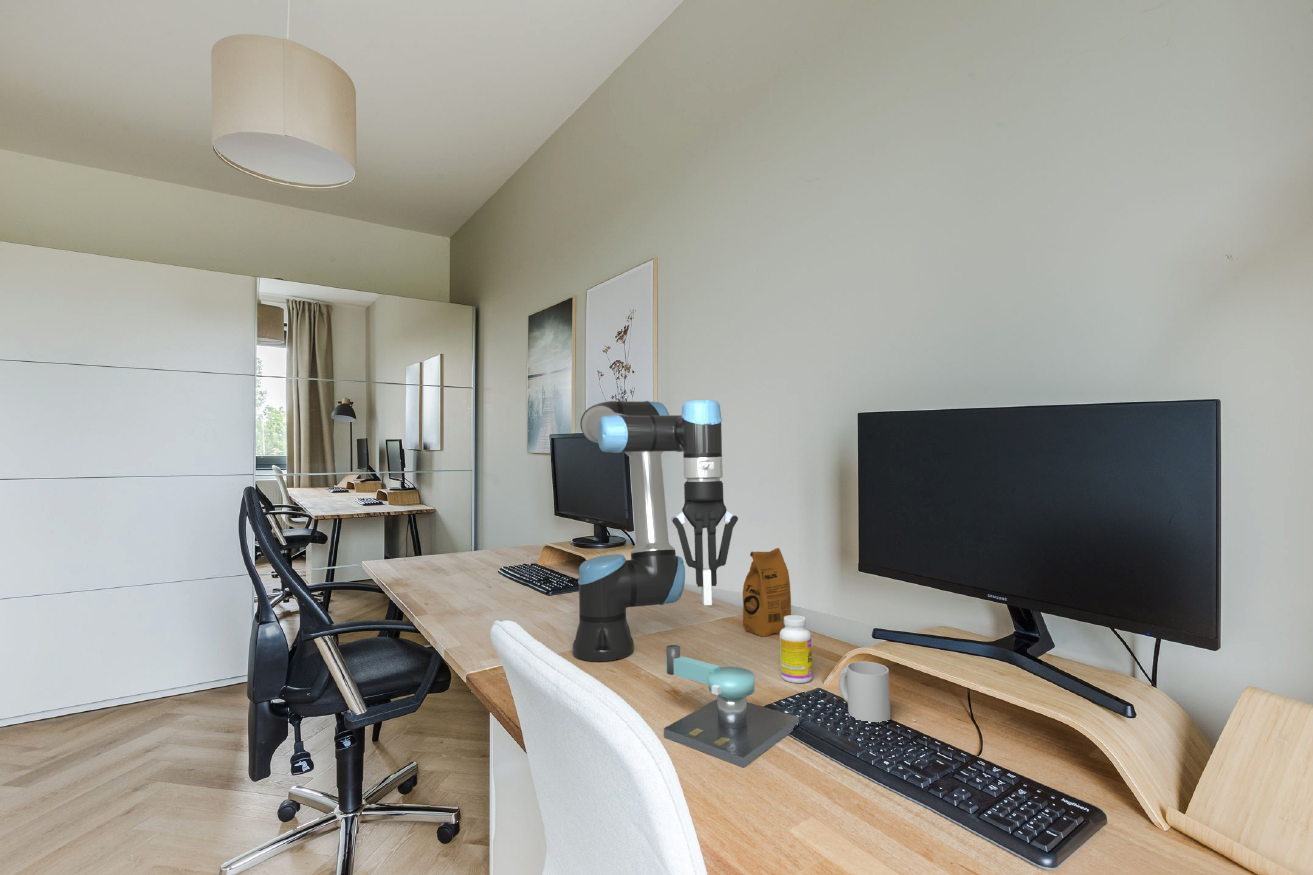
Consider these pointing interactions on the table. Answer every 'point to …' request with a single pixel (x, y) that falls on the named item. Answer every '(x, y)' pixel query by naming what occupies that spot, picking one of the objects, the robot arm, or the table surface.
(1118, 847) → the table surface
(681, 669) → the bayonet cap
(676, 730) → the post base
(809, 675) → the supplement bottle
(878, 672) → the cup
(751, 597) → the coffee package
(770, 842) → the table surface
